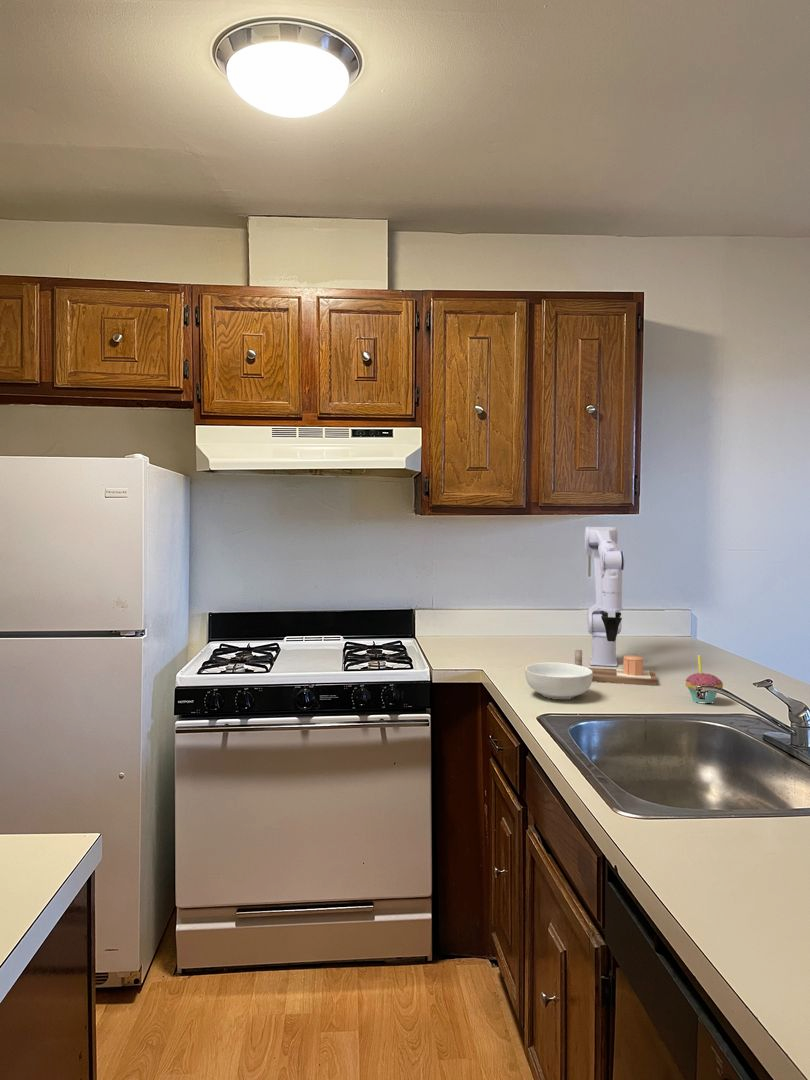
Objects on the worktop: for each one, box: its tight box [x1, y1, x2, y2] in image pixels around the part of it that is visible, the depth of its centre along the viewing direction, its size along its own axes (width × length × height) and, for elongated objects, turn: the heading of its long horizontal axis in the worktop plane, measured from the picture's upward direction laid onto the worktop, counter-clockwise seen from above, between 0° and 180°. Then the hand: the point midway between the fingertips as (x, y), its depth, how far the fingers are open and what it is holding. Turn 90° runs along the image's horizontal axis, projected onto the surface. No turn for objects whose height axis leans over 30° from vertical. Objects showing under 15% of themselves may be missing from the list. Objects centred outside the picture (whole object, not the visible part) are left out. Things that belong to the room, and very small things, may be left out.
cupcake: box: [685, 652, 724, 704], centre depth 178 cm, size 9×8×12 cm
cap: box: [622, 654, 644, 676], centre depth 201 cm, size 5×5×5 cm
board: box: [574, 649, 658, 687], centre depth 203 cm, size 11×28×8 cm, turn 74°
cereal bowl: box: [524, 661, 593, 700], centre depth 183 cm, size 17×17×7 cm
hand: (611, 639), depth 207 cm, fingers open, 7 cm apart
